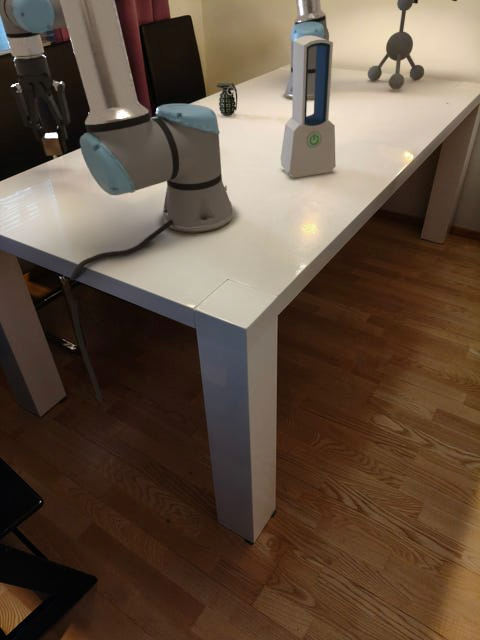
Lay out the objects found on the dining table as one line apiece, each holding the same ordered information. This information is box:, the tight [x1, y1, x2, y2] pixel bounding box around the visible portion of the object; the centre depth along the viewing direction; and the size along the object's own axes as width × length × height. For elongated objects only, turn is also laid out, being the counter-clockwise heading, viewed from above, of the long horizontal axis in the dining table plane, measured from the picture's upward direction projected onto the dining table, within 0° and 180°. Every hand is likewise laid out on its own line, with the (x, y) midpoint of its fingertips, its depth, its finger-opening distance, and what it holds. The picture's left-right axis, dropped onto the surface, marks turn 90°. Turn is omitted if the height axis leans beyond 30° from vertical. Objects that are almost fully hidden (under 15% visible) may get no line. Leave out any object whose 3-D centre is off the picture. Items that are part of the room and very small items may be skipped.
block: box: [42, 132, 63, 157], centre depth 131 cm, size 4×4×5 cm
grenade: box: [215, 82, 238, 117], centre depth 166 cm, size 7×6×10 cm
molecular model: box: [367, 0, 425, 91], centre depth 184 cm, size 24×22×30 cm
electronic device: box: [280, 35, 336, 179], centre depth 117 cm, size 12×8×30 cm, turn 105°
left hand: (55, 152), depth 132 cm, fingers closed on block, 4 cm apart
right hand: (434, 2), depth 170 cm, fingers open, 13 cm apart
